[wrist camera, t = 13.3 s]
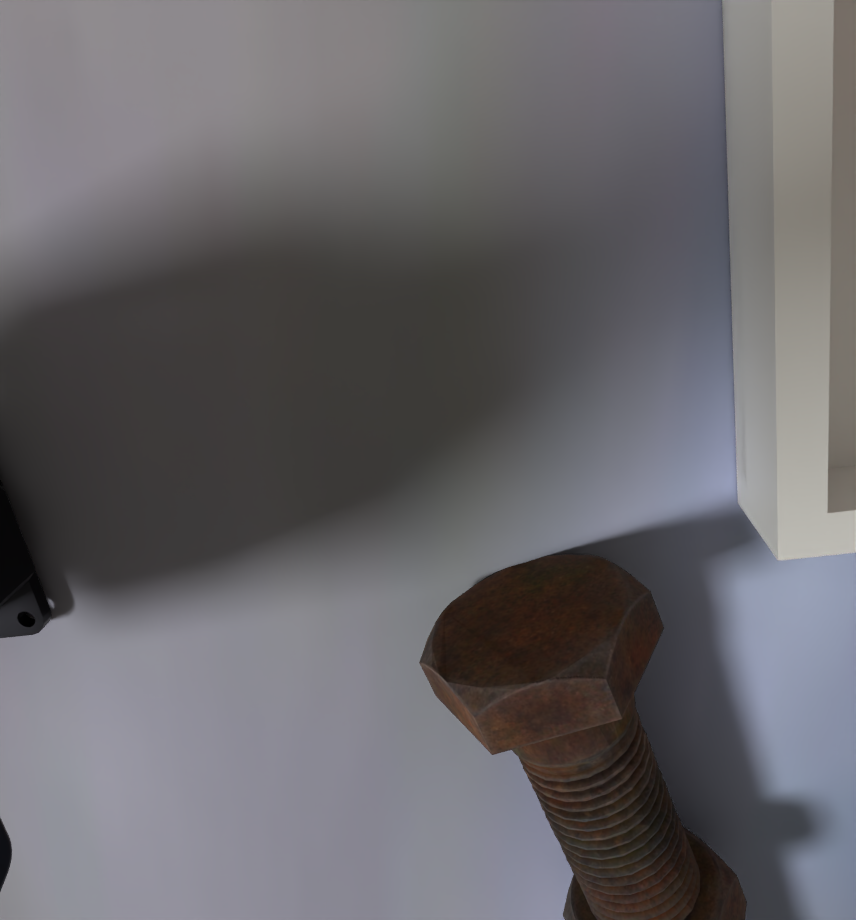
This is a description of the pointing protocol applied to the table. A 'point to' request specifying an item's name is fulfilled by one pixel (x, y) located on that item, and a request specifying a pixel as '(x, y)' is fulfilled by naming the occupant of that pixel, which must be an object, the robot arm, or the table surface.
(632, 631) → the bolt
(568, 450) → the table surface
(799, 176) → the tray
